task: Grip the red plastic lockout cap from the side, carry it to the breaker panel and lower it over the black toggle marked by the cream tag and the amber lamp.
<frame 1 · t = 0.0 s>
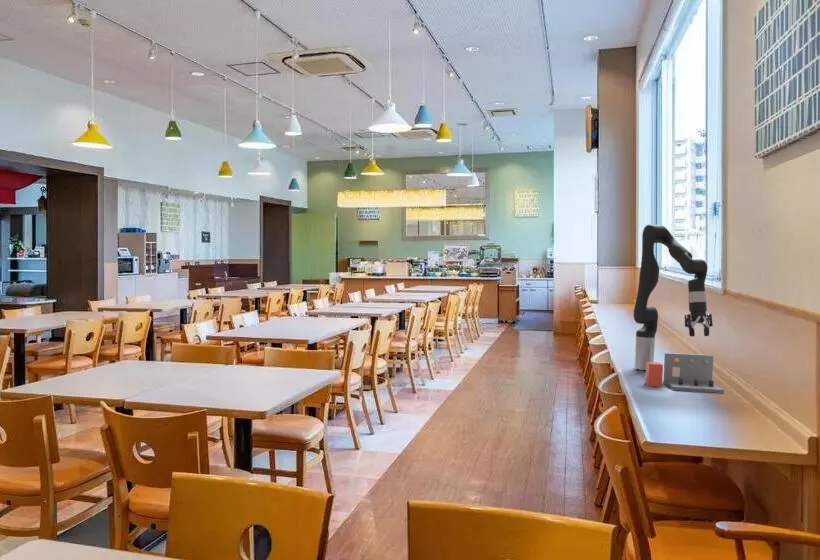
hand: (699, 336, 292), 22 cm above the table, tool pointing down, fingers open, 8 cm apart
lockout cap: (653, 384, 288), on the table
breaker panel: (693, 388, 283), on the table
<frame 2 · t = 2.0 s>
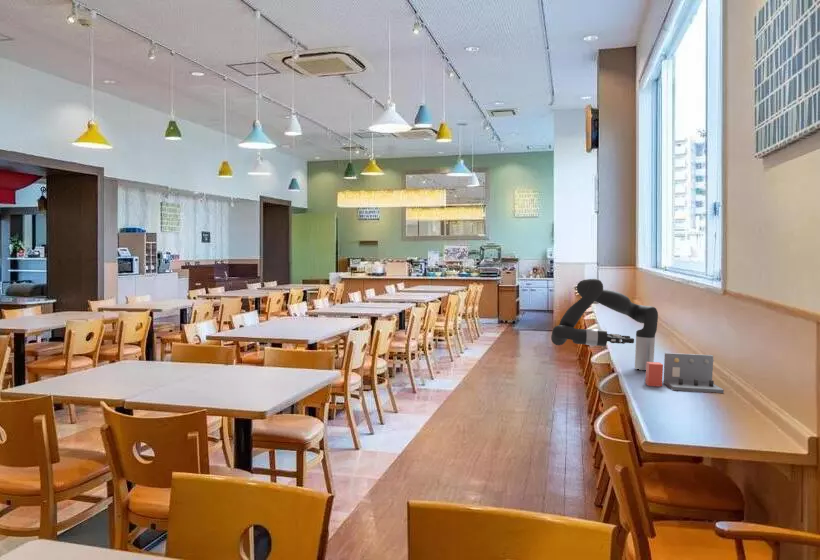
hand: (631, 339, 288), 20 cm above the table, tool horizontal, fingers open, 8 cm apart
nothing on the table moved.
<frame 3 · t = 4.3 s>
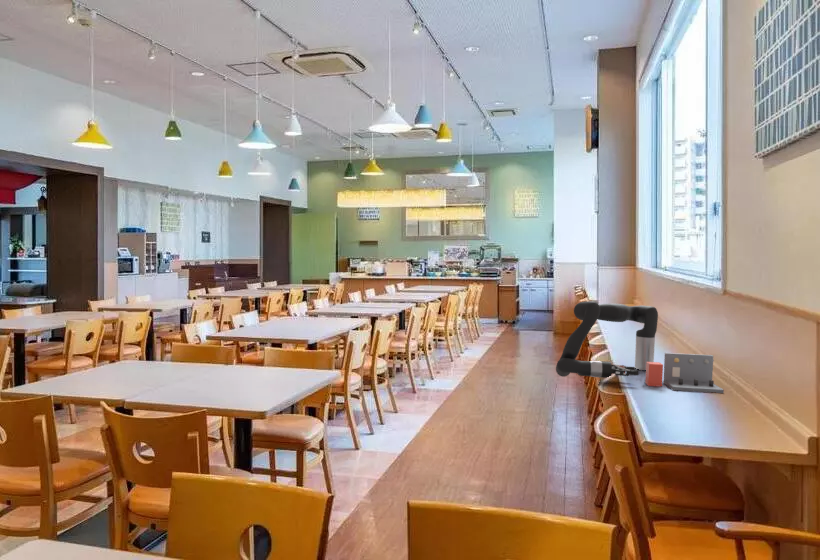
hand: (636, 371, 289), 6 cm above the table, tool horizontal, fingers open, 8 cm apart
nothing on the table moved.
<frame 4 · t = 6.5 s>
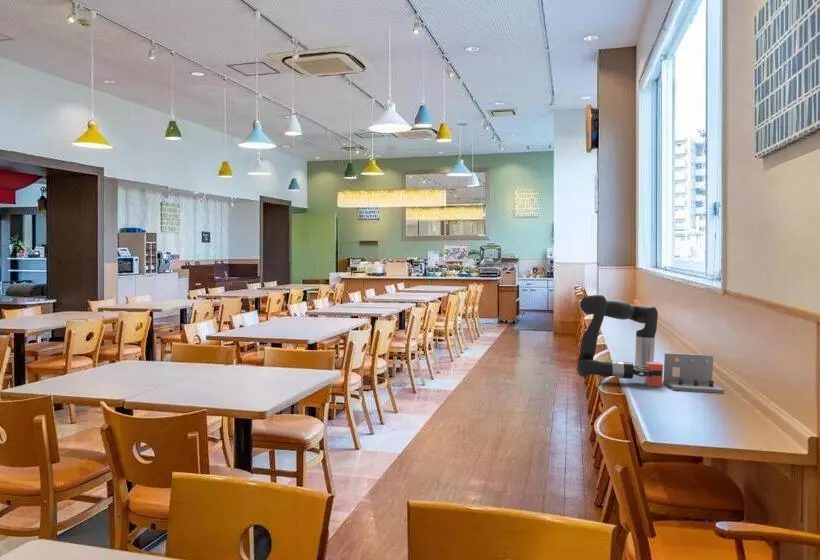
hand: (659, 372, 287), 6 cm above the table, tool horizontal, fingers closed on lockout cap, 6 cm apart
lockout cap: (653, 384, 288), on the table, touching gripper
everything else where it was.
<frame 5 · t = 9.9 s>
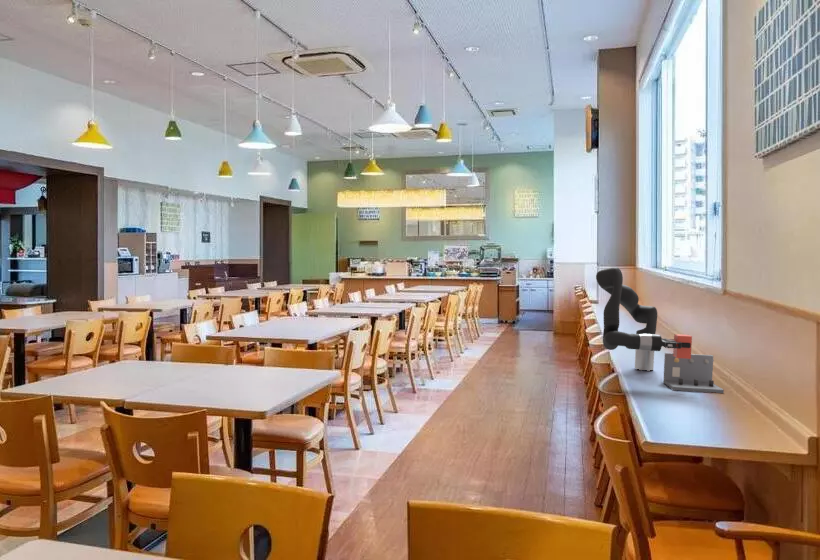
hand: (688, 344, 282), 20 cm above the table, tool horizontal, fingers closed on lockout cap, 6 cm apart
lockout cap: (681, 357, 283), point 14 cm above the table, touching gripper
everything else where it was.
when the fingers open (8 cm above the table, at t = 13.1 s): lockout cap stays where it is, resting on breaker panel.
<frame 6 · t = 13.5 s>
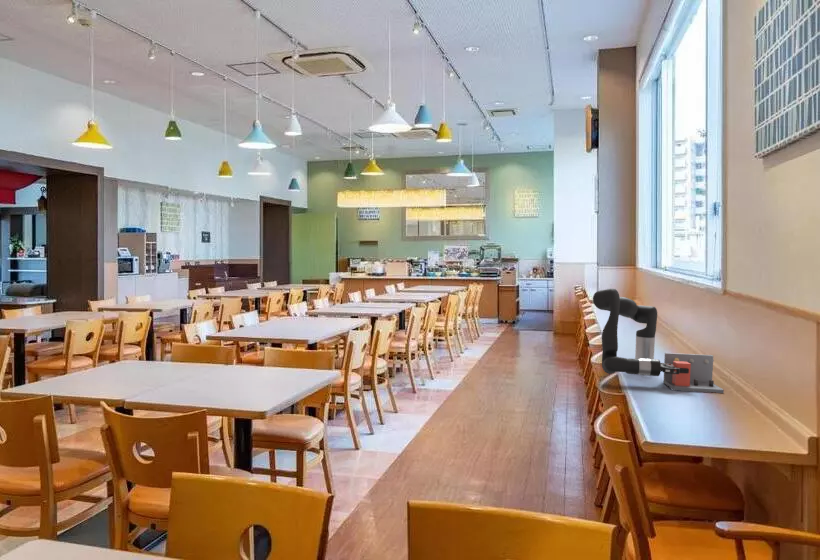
hand: (685, 369, 283), 9 cm above the table, tool horizontal, fingers open, 8 cm apart
lockout cap: (680, 384, 283), point 1 cm above the table, touching breaker panel
everything else where it was.
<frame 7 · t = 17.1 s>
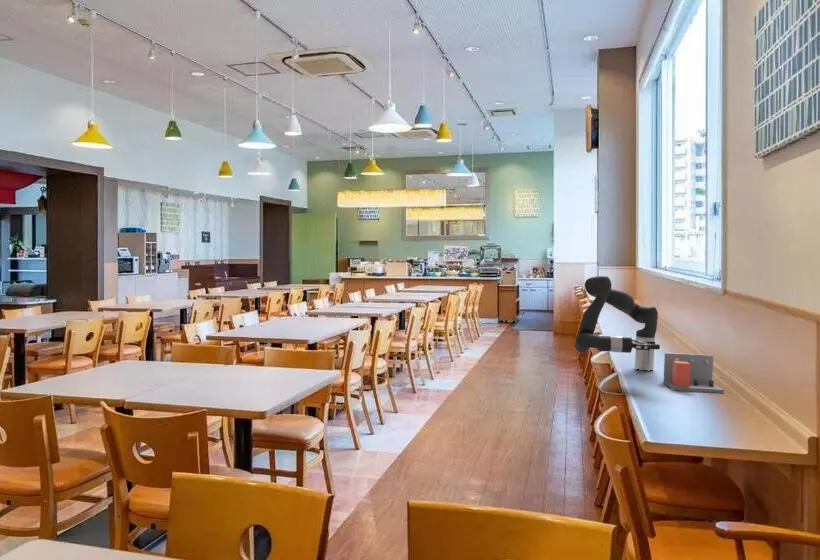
hand: (657, 345, 284), 19 cm above the table, tool horizontal, fingers open, 8 cm apart
nothing on the table moved.
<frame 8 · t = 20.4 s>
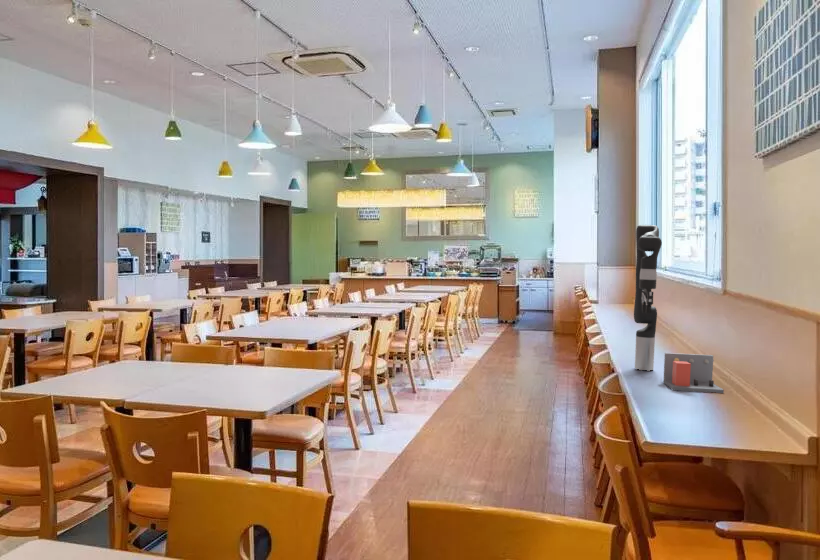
hand: (646, 312, 299), 32 cm above the table, tool pointing down, fingers open, 8 cm apart
nothing on the table moved.
at the end: lockout cap 0.0 cm from the target spot on the breaker panel, point 1.5 cm above the breaker panel's base; lockout cap tilted 0°; the gripper is holding nothing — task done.
